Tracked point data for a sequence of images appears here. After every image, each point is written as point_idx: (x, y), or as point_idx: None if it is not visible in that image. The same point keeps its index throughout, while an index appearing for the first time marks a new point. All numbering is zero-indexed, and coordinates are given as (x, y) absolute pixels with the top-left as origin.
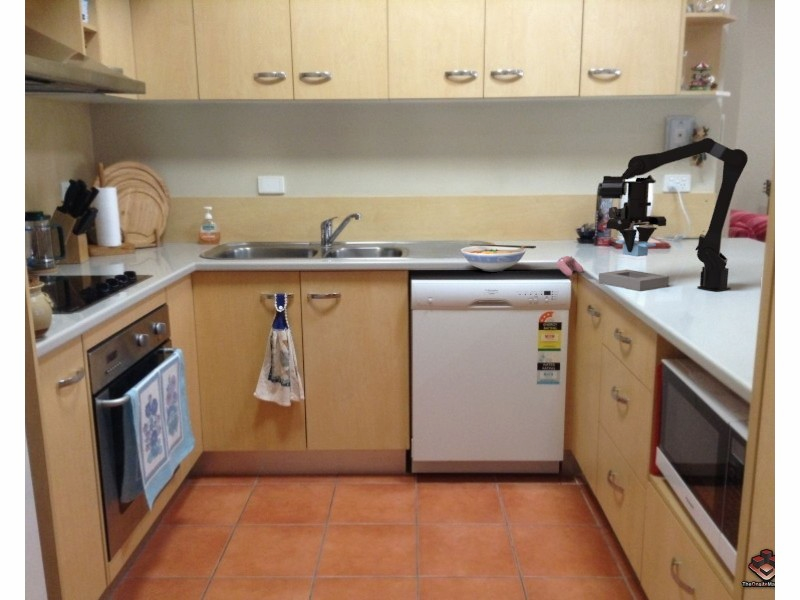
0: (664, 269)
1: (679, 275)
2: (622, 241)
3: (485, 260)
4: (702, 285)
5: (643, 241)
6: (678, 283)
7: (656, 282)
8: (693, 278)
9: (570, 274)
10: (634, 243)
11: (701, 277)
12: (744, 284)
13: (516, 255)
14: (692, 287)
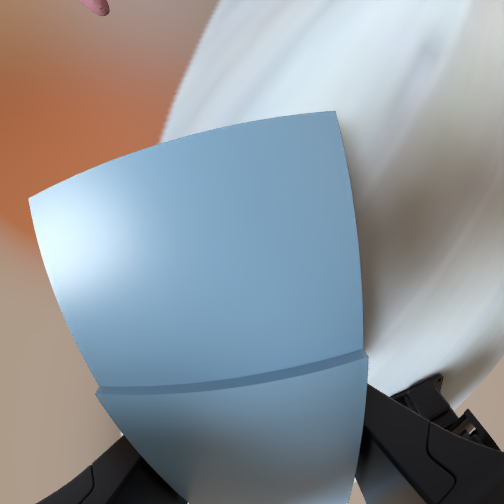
0: (499, 73)
1: (498, 180)
2: (97, 355)
3: None
4: (403, 402)
5: (349, 483)
6: (415, 315)
7: None
8: (495, 248)
9: (99, 14)
10: (194, 499)
11: (416, 411)
12: (492, 358)
13: None
14: (392, 382)
